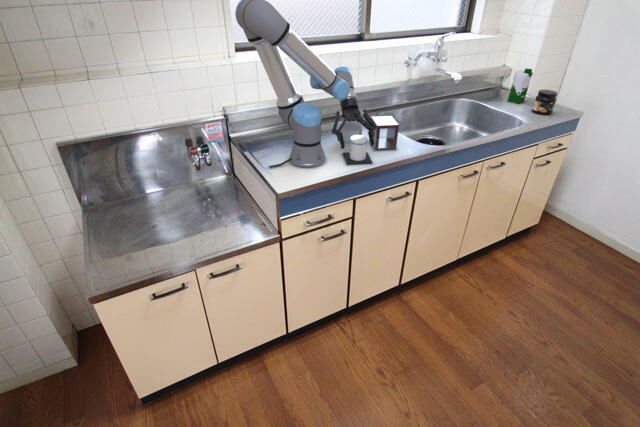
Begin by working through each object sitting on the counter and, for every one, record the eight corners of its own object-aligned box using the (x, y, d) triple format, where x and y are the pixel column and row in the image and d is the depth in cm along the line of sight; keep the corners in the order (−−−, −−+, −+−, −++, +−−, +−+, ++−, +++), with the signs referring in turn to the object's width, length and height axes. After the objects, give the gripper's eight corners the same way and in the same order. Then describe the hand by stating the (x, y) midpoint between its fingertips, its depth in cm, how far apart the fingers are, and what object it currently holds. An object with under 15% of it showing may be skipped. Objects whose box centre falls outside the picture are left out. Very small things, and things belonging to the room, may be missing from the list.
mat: (347, 165, 165) (347, 163, 164) (342, 154, 174) (342, 152, 173) (372, 163, 166) (372, 162, 165) (366, 153, 175) (366, 151, 174)
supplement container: (528, 112, 225) (534, 91, 218) (536, 108, 231) (542, 88, 224) (547, 116, 218) (554, 95, 211) (554, 112, 224) (561, 92, 217)
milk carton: (519, 104, 236) (529, 71, 225) (505, 101, 242) (514, 68, 231) (526, 102, 241) (536, 68, 230) (512, 98, 247) (521, 66, 236)
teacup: (361, 137, 190) (362, 122, 186) (361, 146, 181) (362, 130, 177) (333, 136, 191) (333, 120, 187) (331, 145, 182) (332, 129, 178)
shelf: (374, 150, 177) (377, 125, 171) (369, 140, 187) (371, 116, 181) (395, 149, 178) (399, 124, 172) (389, 139, 188) (391, 115, 182)
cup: (351, 161, 166) (352, 141, 161) (348, 154, 172) (349, 135, 167) (367, 160, 167) (369, 141, 162) (363, 153, 173) (365, 134, 168)
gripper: (371, 103, 176) (381, 146, 172) (319, 107, 170) (328, 152, 166) (377, 95, 169) (387, 140, 165) (323, 98, 163) (332, 145, 159)
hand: (358, 146), depth 166 cm, fingers open, 13 cm apart
